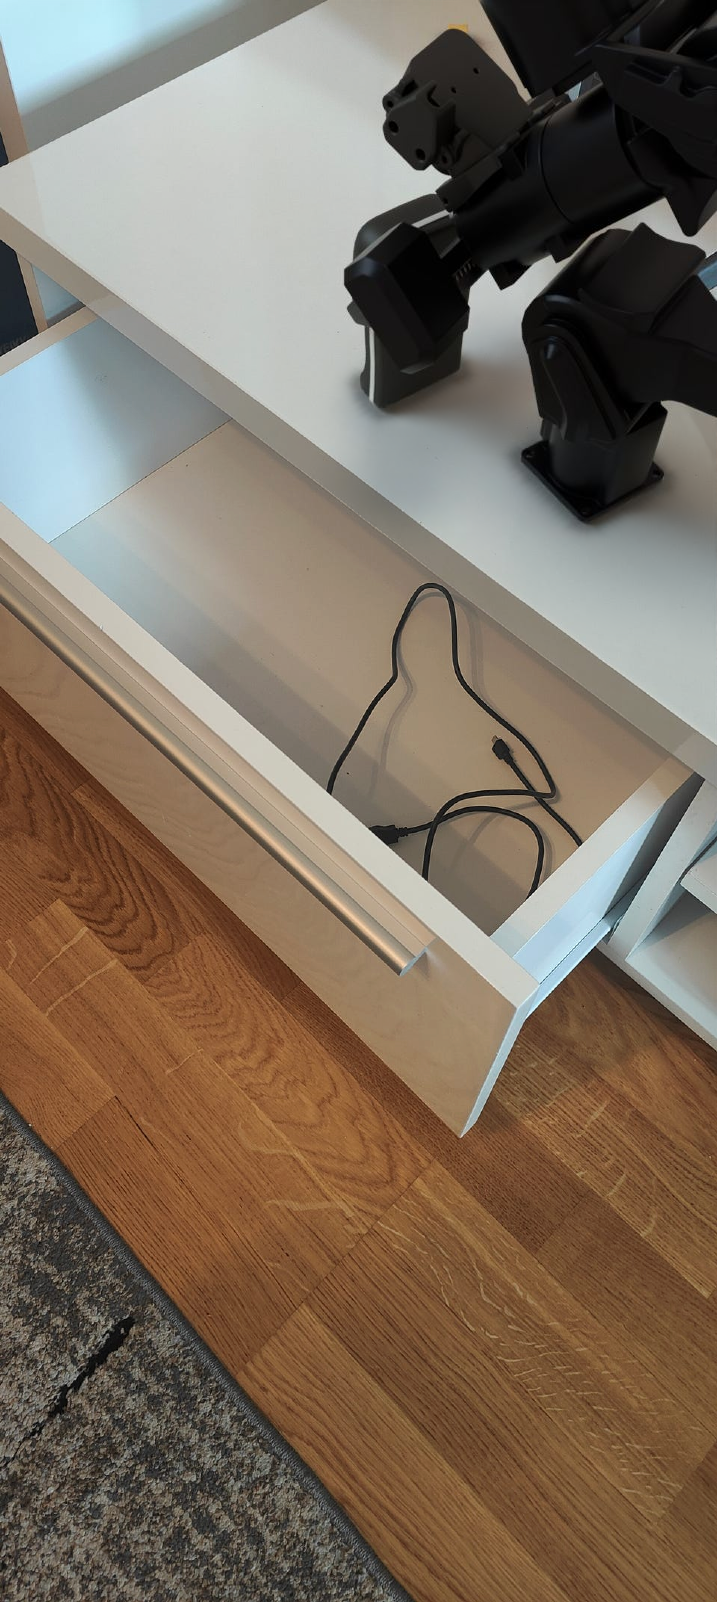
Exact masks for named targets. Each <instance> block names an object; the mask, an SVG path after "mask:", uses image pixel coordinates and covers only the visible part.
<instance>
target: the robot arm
mask: <svg viewBox="0 0 717 1602" xmlns="http://www.w3.org/2000/svg"><path fill="white" fill-rule="evenodd" d="M478 2H479V4H480V6H481V8H482V10H483V13H484V14H485V15H486V18H487V20H488V21H489V23H490V26H491V27H492V29H493V31H494V33H495V35H496V36H497V38H498V40H499V42H500V44H501V46H502V48H503V50H504V52H505V54H506V56H507V58H508V59H509V62H510V63H511V65H512V67H513V69H514V71H515V72H516V75H517V77H518V79H519V81H520V83H521V85H522V87H523V88H524V89H526V90H527V93H528V94H529V96H530V98H529V99H527V100H525V99H524V98H523V96H522V95H521V94H520V92H519V90H518V87H517V85H516V83H515V82H514V80H512V78H511V77H510V76H509V75H508V74H507V73H506V72H505V71H504V70H503V69H502V68H501V66H499V64H497V62H496V61H495V60H494V59H493V58H492V57H491V56H490V55H489V54H488V53H487V52H486V51H485V50H484V49H483V48H482V47H481V46H480V45H479V44H478V42H477V41H475V39H473V38H472V36H470V35H469V33H468V34H467V33H465V32H464V31H462V30H459V29H454V28H452V29H448V28H447V29H446V30H444V31H443V32H442V33H441V34H439V35H438V37H436V38H434V40H433V41H431V42H430V43H428V45H427V46H425V47H424V48H423V49H422V50H420V51H419V52H418V53H417V54H415V55H414V56H413V57H412V58H411V59H410V61H409V64H408V65H407V67H406V69H405V72H404V73H403V75H402V77H401V78H400V79H399V82H397V83H398V84H396V85H395V86H394V87H392V88H391V90H389V91H388V92H387V93H386V94H384V95H383V96H382V100H381V104H382V108H383V110H384V112H385V119H384V122H383V124H382V133H383V137H384V140H385V141H386V143H387V144H388V145H389V146H391V148H392V149H393V150H395V152H396V153H397V154H398V155H399V156H400V157H401V158H402V159H403V160H404V161H405V162H406V163H407V164H408V165H409V166H410V167H411V168H412V169H413V170H415V171H417V172H419V171H421V172H423V171H426V170H427V169H428V168H429V167H430V166H432V167H433V168H434V170H436V171H437V172H439V173H440V174H442V175H444V176H448V177H450V178H449V179H447V180H445V181H444V182H443V183H442V184H440V186H439V187H437V188H436V189H435V190H434V192H435V194H437V195H438V197H439V199H440V201H441V202H442V204H443V206H444V207H445V209H446V211H447V212H448V213H449V217H450V219H451V221H452V222H453V224H454V226H455V229H456V232H457V235H458V236H457V237H456V238H455V239H454V240H453V241H452V242H451V243H450V244H449V245H448V246H447V247H446V248H445V249H444V250H443V251H442V252H441V253H439V254H438V253H437V251H436V249H435V248H434V246H433V244H432V243H431V241H430V239H429V238H428V236H427V234H426V233H425V231H424V230H422V229H419V228H417V227H415V226H413V225H411V224H409V223H406V222H404V221H402V222H401V223H399V224H398V225H396V226H394V227H393V228H391V229H390V228H389V229H388V230H387V231H386V232H385V233H384V234H383V235H382V236H380V237H379V238H378V239H377V240H376V241H374V242H373V243H372V244H371V245H370V246H369V247H368V248H366V249H365V250H364V251H363V252H362V253H361V254H360V255H359V256H358V257H357V258H356V259H354V260H353V259H352V261H351V262H350V263H349V264H348V265H347V266H346V267H345V268H343V286H344V288H345V289H346V290H347V293H348V294H349V295H350V297H351V302H349V304H348V305H347V306H346V311H347V312H348V314H349V316H350V318H352V321H353V322H354V323H355V324H357V325H359V326H363V327H365V326H366V327H370V328H372V329H373V331H374V332H375V334H376V336H377V337H378V339H379V340H380V342H381V343H382V345H383V346H384V348H385V350H386V351H387V353H388V354H389V356H390V357H391V359H392V360H393V362H394V363H395V365H396V367H397V368H398V370H399V371H401V372H405V373H409V374H412V373H415V372H417V371H419V370H421V369H424V368H426V367H428V366H430V365H433V364H434V363H435V362H436V361H437V360H438V359H439V358H440V357H441V356H442V355H443V354H444V352H445V351H446V350H447V349H448V348H449V347H450V346H451V345H452V344H453V343H454V342H455V341H456V340H457V339H458V338H459V337H460V336H461V335H462V334H463V335H464V333H465V332H466V331H467V330H468V329H469V321H470V315H471V314H470V313H471V307H470V305H469V302H468V303H467V301H466V300H465V298H464V296H463V295H464V294H465V293H466V291H467V290H468V289H469V288H470V289H471V288H472V287H473V286H474V285H475V283H477V282H478V281H479V280H480V279H481V278H482V277H483V275H485V274H486V273H487V272H489V273H490V276H491V277H492V279H493V281H494V282H495V284H496V286H497V287H498V289H499V291H500V292H502V291H504V290H505V289H508V288H509V287H511V286H513V285H515V284H516V283H517V282H518V281H519V280H520V279H521V278H522V276H524V274H525V273H526V272H528V270H530V268H532V266H533V265H534V264H536V263H538V262H540V261H542V260H544V259H546V258H548V257H552V259H553V261H554V262H555V264H559V263H561V262H563V261H565V260H567V259H568V258H571V257H572V256H573V255H574V254H575V253H576V252H577V250H579V248H581V246H582V248H581V249H580V250H579V251H578V252H577V253H576V254H575V255H574V256H573V257H572V258H571V259H570V260H569V261H568V262H567V263H566V264H565V266H564V267H562V269H561V270H560V271H558V273H557V274H556V275H555V276H554V277H553V278H552V279H551V280H550V281H549V282H548V284H547V285H546V286H545V287H544V288H543V289H542V290H541V291H540V292H538V294H537V295H536V296H535V297H534V298H533V299H532V301H531V302H530V303H529V304H528V306H527V307H526V308H525V309H524V312H523V316H522V320H521V323H520V325H521V340H522V343H523V346H524V349H525V352H526V354H527V357H528V364H529V368H530V374H531V379H532V385H533V390H534V397H535V401H536V405H537V413H538V416H539V417H540V419H542V421H541V424H540V425H541V426H540V429H539V436H540V437H541V439H540V440H539V441H537V442H535V443H532V444H531V445H529V446H527V447H525V448H523V449H522V451H521V452H520V457H519V458H520V462H521V463H523V465H524V466H525V467H526V468H527V469H528V470H529V471H530V472H531V474H533V475H534V476H535V478H536V479H538V480H539V481H540V483H542V484H543V485H544V486H545V487H546V488H547V490H548V491H550V493H551V494H553V496H554V497H555V498H556V499H557V500H559V502H560V503H561V504H562V505H564V507H565V508H566V509H567V510H568V511H569V512H570V513H571V514H572V515H573V516H574V517H575V518H576V519H577V520H578V521H579V522H581V523H589V522H591V521H593V520H595V519H597V518H598V517H600V516H602V515H604V514H605V513H607V512H609V511H612V510H613V509H616V508H617V507H619V506H621V505H623V504H625V503H626V502H628V501H630V500H631V499H633V498H636V497H637V496H640V495H641V494H643V493H645V492H646V491H649V490H650V489H652V488H654V487H656V486H657V485H659V484H661V483H662V482H663V480H664V478H665V471H664V470H663V469H662V468H661V466H659V465H658V464H657V463H656V462H655V461H654V458H655V456H656V455H655V454H656V452H657V448H658V445H659V442H660V439H661V436H662V432H663V430H664V426H665V423H666V421H667V417H668V414H669V411H668V409H667V408H666V407H665V406H664V405H663V404H662V402H675V403H679V404H683V405H685V406H687V407H690V408H692V409H694V410H697V411H699V412H702V413H703V414H706V415H709V416H711V417H713V418H716V419H717V299H716V298H715V296H714V294H712V292H711V291H710V290H709V288H708V286H707V285H706V284H705V282H704V281H703V280H702V278H701V277H700V276H699V274H700V271H701V269H702V267H703V266H704V263H705V261H706V259H707V253H706V251H705V250H704V249H702V248H701V247H699V246H698V245H696V244H694V243H688V242H682V241H676V240H673V239H671V238H670V239H669V238H667V237H665V236H663V235H661V234H659V233H658V232H656V231H654V230H653V229H652V228H651V227H650V226H649V225H648V224H646V223H645V222H644V221H641V222H639V223H638V225H637V226H636V227H634V229H633V230H630V229H625V228H617V227H616V228H608V229H606V228H607V227H610V226H612V225H614V224H616V223H618V222H620V221H622V220H624V219H626V218H628V217H630V216H632V215H635V214H637V213H638V212H640V211H642V210H644V209H646V208H648V207H650V206H652V205H654V204H656V203H658V202H660V201H662V200H664V199H665V200H666V201H667V204H668V205H669V208H670V209H671V212H672V214H673V215H674V219H675V220H676V221H677V222H676V223H677V224H678V226H679V228H680V230H681V232H682V234H683V235H684V236H685V237H687V238H692V237H693V238H694V237H695V236H696V235H697V234H698V233H699V232H700V231H701V229H702V228H703V227H705V226H706V224H707V223H708V221H709V220H710V219H711V218H712V217H713V216H714V215H715V214H716V212H717V0H478ZM677 48H679V49H678V50H677ZM675 50H677V51H676V52H675ZM674 52H675V53H674ZM596 72H597V75H598V77H599V79H600V81H601V82H600V83H599V84H596V85H595V86H594V87H592V88H590V89H588V91H586V92H584V93H583V94H581V95H580V96H578V97H577V98H575V99H574V100H572V98H571V97H570V95H569V94H568V93H567V92H569V91H570V90H571V89H573V88H575V87H576V86H578V85H579V84H580V83H582V82H583V81H585V80H586V79H588V78H589V77H591V76H592V75H593V74H595V73H596ZM604 229H606V230H605V231H604V232H601V233H599V234H597V235H596V236H593V238H591V239H589V238H590V237H591V236H592V235H595V234H596V233H598V232H600V231H603V230H604ZM588 239H589V240H588ZM587 240H588V241H587ZM586 241H587V242H586ZM585 242H586V243H585ZM584 243H585V244H584ZM470 258H471V259H470ZM469 259H470V260H469ZM468 260H469V262H468V263H466V262H467V261H468ZM465 263H466V264H465ZM464 264H465V266H464V267H462V266H463V265H464ZM461 267H462V268H461ZM460 268H461V270H460V271H458V270H459V269H460ZM457 271H458V272H457ZM456 272H457V274H456V275H454V274H455V273H456ZM453 275H454V276H453ZM452 276H453V278H452ZM352 298H353V300H352Z"/></svg>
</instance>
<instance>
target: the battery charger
mask: <svg viewBox="0 0 717 1602" xmlns="http://www.w3.org/2000/svg"><path fill="white" fill-rule="evenodd" d="M402 221H404V222H406V223H409V224H411V225H413V226H415V227H417V228H419V229H422V230H424V231H425V233H426V234H427V236H428V238H429V239H430V241H431V243H432V244H433V246H434V248H435V249H436V251H437V253H438V254H439V253H441V252H442V251H443V250H444V249H445V248H446V247H447V246H448V245H449V244H450V243H451V242H452V241H453V240H454V239H455V238H456V237H457V236H458V235H457V232H456V229H455V226H454V224H453V222H452V221H451V219H450V217H449V213H448V212H447V211H446V209H445V207H444V206H443V204H442V202H441V201H440V199H439V197H438V195H437V194H436V193H428V194H424V195H421V196H418V197H416V198H414V199H411V200H409V201H406V202H404V203H402V204H399V205H397V206H395V207H393V208H391V209H388V210H386V211H385V212H382V213H380V214H378V215H375V216H374V217H372V218H370V219H369V220H368V221H366V222H365V223H364V224H363V225H362V226H361V227H360V228H359V230H358V232H357V234H356V237H355V240H354V245H353V249H352V250H353V251H352V261H353V260H354V259H356V258H357V257H358V256H359V255H360V254H361V253H362V252H363V251H364V250H365V249H366V248H368V247H369V246H370V245H371V244H372V243H373V242H374V241H376V240H377V239H378V238H379V237H380V236H382V235H383V234H384V233H385V232H386V231H387V230H388V229H389V228H390V229H391V228H393V227H394V226H396V225H398V224H399V223H401V222H402ZM470 259H471V258H470ZM470 259H469V260H470ZM469 260H468V261H467V262H466V263H468V262H469ZM466 263H465V264H466ZM465 264H464V265H463V266H462V267H464V266H465ZM462 267H461V268H462ZM461 268H460V269H459V270H458V271H460V270H461ZM458 271H457V272H458ZM457 272H456V273H455V274H454V275H456V274H457ZM454 275H453V276H454ZM453 276H452V278H453ZM470 294H471V287H470V288H469V289H468V290H467V291H466V293H465V294H464V295H463V296H464V298H465V300H466V301H467V303H468V304H469V300H470ZM352 300H353V298H352V297H351V301H352ZM463 342H464V333H463V334H462V335H461V336H460V337H459V338H458V339H457V340H456V341H455V342H454V343H453V344H452V345H451V346H450V347H449V348H448V349H447V350H446V351H445V352H444V354H443V355H442V356H441V357H440V358H439V359H438V360H437V361H436V362H435V363H434V364H433V365H430V366H428V367H426V368H424V369H421V370H419V371H417V372H415V373H412V374H409V373H405V372H401V371H399V370H398V368H397V367H396V365H395V363H394V362H393V360H392V359H391V357H390V356H389V354H388V353H387V351H386V350H385V348H384V346H383V345H382V343H381V342H380V340H379V339H378V337H377V336H376V334H375V332H374V331H373V329H372V328H370V327H366V326H364V349H365V360H364V361H365V362H364V366H363V371H362V372H361V373H360V376H359V385H360V388H361V390H362V391H363V393H364V394H365V396H366V397H367V398H368V400H369V402H371V404H372V405H373V406H376V407H378V408H380V409H384V408H386V407H388V406H391V405H393V404H396V403H397V402H399V401H402V400H404V399H405V398H407V397H410V396H413V395H414V394H416V393H418V392H420V391H422V390H424V389H427V388H428V387H430V386H432V385H434V384H436V383H438V382H440V381H442V380H443V379H445V378H448V377H449V376H451V375H453V374H454V373H456V372H458V371H460V369H461V363H462V353H463V352H462V350H463Z"/></svg>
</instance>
